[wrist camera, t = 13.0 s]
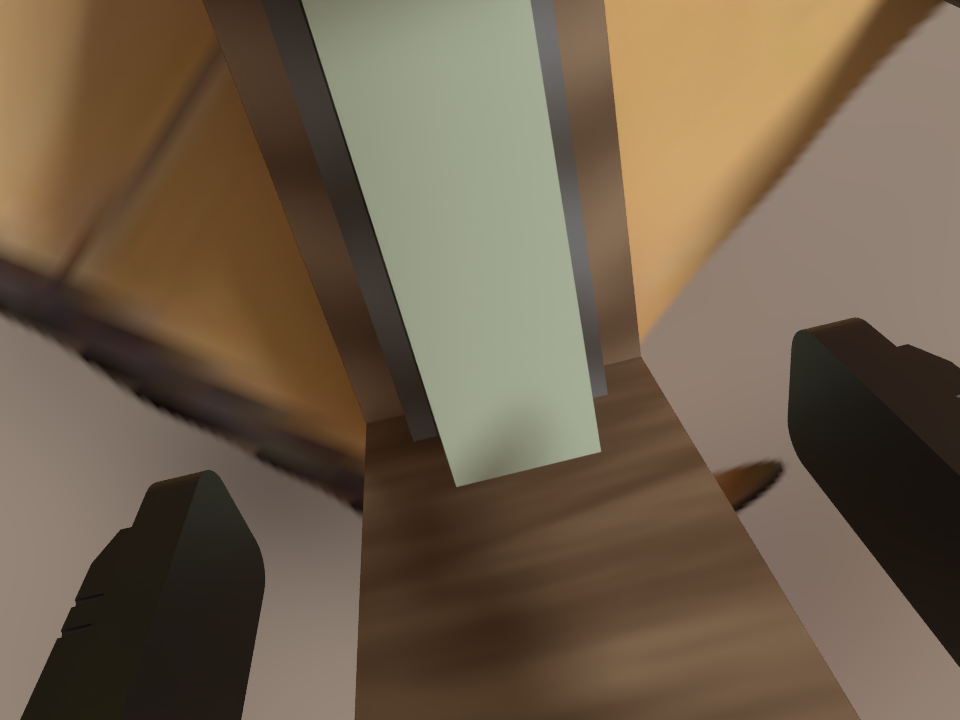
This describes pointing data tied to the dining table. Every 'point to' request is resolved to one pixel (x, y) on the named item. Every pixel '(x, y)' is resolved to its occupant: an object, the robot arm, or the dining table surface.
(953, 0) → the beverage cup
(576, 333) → the pale green rectangular block
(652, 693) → the wooden u-shaped holder
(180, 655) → the robot arm
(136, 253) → the dining table surface
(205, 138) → the dining table surface
